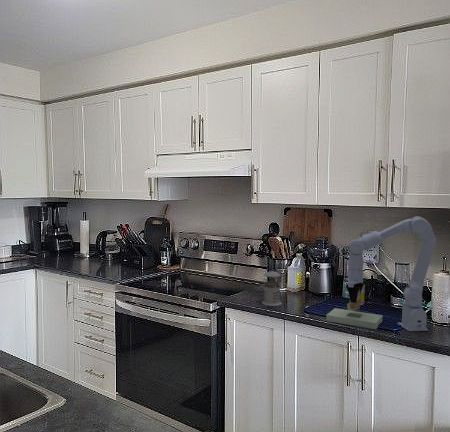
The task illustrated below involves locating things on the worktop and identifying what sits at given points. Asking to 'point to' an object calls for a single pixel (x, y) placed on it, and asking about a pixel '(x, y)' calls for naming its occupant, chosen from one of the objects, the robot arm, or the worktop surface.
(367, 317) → the hole board
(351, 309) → the short stub
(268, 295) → the french press
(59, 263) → the worktop surface
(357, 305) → the tall dowel
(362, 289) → the supplement bottle
